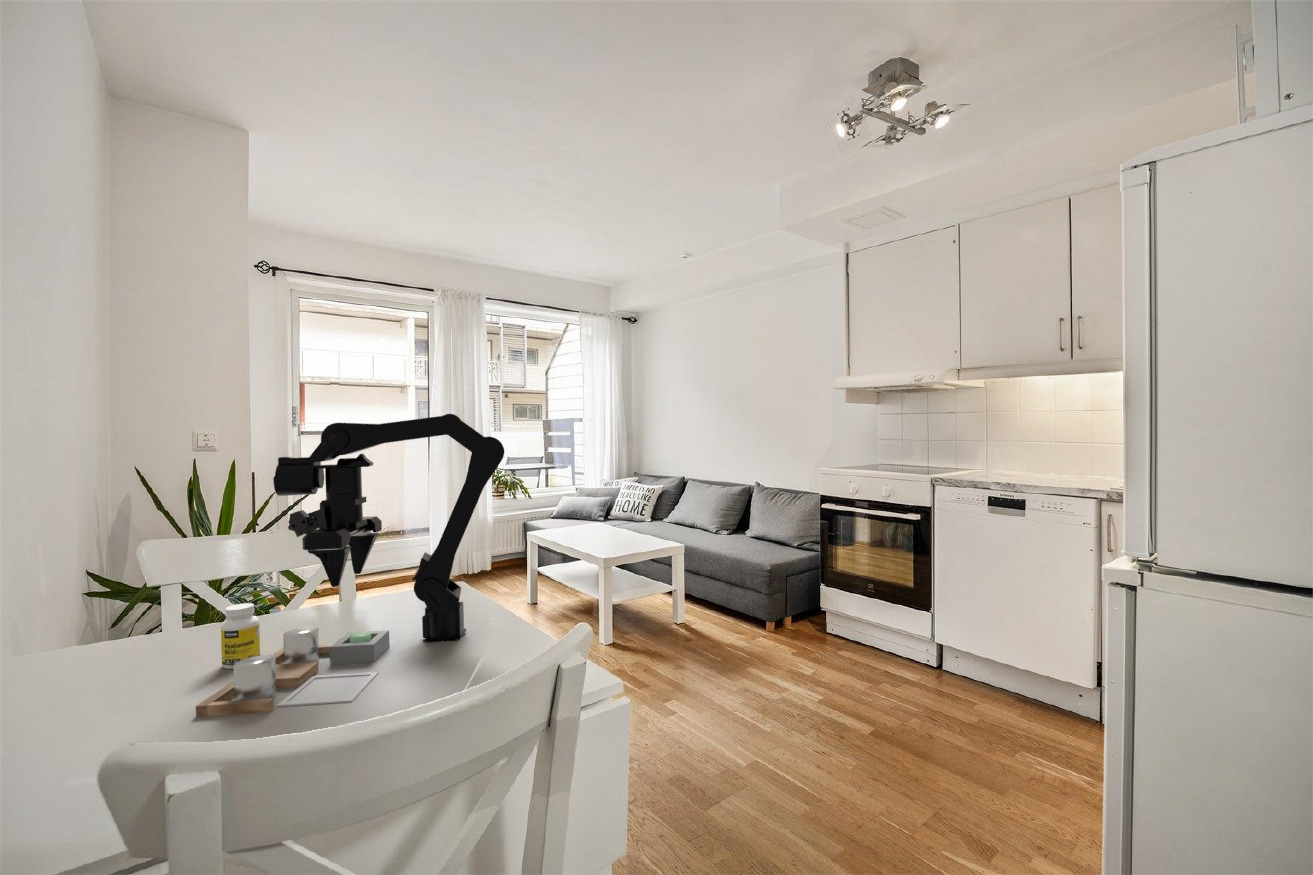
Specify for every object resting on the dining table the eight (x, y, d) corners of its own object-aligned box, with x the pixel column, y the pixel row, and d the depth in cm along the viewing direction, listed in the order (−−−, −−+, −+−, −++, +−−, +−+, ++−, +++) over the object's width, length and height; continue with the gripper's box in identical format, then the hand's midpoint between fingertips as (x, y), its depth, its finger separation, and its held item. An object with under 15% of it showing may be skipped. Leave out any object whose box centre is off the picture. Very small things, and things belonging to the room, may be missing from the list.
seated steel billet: (283, 694, 88) (282, 654, 88) (264, 710, 83) (263, 667, 83) (248, 696, 88) (246, 656, 88) (226, 712, 83) (225, 669, 83)
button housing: (389, 650, 106) (389, 630, 106) (374, 665, 99) (373, 644, 99) (348, 652, 105) (348, 632, 105) (330, 668, 98) (329, 646, 98)
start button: (374, 648, 104) (373, 631, 104) (366, 655, 100) (366, 637, 100) (355, 649, 103) (354, 632, 103) (347, 656, 100) (346, 639, 100)
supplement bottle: (219, 672, 97) (216, 613, 97) (225, 661, 102) (223, 604, 102) (258, 665, 100) (256, 607, 100) (262, 655, 105) (260, 600, 105)
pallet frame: (340, 655, 103) (340, 644, 103) (269, 716, 82) (269, 701, 82) (283, 658, 103) (282, 647, 103) (196, 720, 81) (195, 706, 81)
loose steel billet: (324, 660, 101) (323, 625, 101) (310, 672, 96) (309, 636, 96) (294, 662, 101) (293, 627, 101) (278, 674, 96) (276, 637, 96)
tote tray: (378, 676, 94) (378, 671, 94) (351, 706, 84) (351, 700, 84) (312, 680, 93) (312, 675, 93) (277, 710, 83) (277, 705, 83)
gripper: (321, 489, 115) (324, 569, 115) (267, 500, 96) (270, 596, 96) (381, 487, 116) (384, 567, 116) (338, 498, 97) (341, 593, 97)
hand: (346, 579), depth 106 cm, fingers open, 9 cm apart
